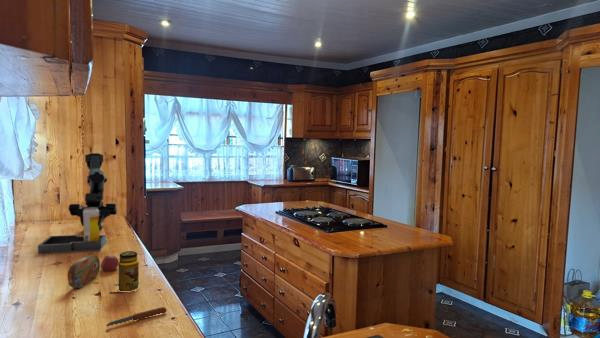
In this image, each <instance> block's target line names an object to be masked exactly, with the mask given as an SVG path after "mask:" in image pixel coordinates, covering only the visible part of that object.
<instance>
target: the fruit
mask: <svg viewBox="0 0 600 338" xmlns="http://www.w3.org/2000/svg"><path fill="white" fill-rule="evenodd" d="M119 261H120V257H118V258H117V256H116V255H114V254H108V255H105V256H104V257H103V259H102V261H101V263H100V269H101V270H102V271H103V272H114V271H115V270H116V269H117V268H119Z"/></svg>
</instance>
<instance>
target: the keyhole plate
mask: <svg viewBox="0 0 600 338" xmlns="http://www.w3.org/2000/svg"><path fill="white" fill-rule="evenodd" d="M107 242H108V240H107V236H106V234H101V235H100V234H99V240H98V241H84V235H81V234H71V235H70V234H68V235H49V236H48V237H47V238H46V239H44V240H43V241H41V243H39V244H38V245H37V254H38V255H47V254H49V255H50V254H63V253H67V254H68V253H86V252H101V251H102V249H103V248H104V246H105V245H106V243H107Z"/></svg>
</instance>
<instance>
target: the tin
mask: <svg viewBox="0 0 600 338" xmlns="http://www.w3.org/2000/svg"><path fill="white" fill-rule="evenodd" d="M100 266H101V263H100V259H99V257H98V255H96V254H92V255H91V254H90V255H86V256H84V257H82V258H80V259H79V260H77V261H75V262H73V263H72V264H71V265H70V267H69V269H68V270H67V281H68V285H69V286H70V287H71V288H72V289H73V288H78V289H81V288H84V287H85V286H86V285H88V284H90V283H91V282H92V281H93V280H95V279H97V277H98V275H99V272H100V269H101V267H100ZM83 286H84V287H83Z"/></svg>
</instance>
